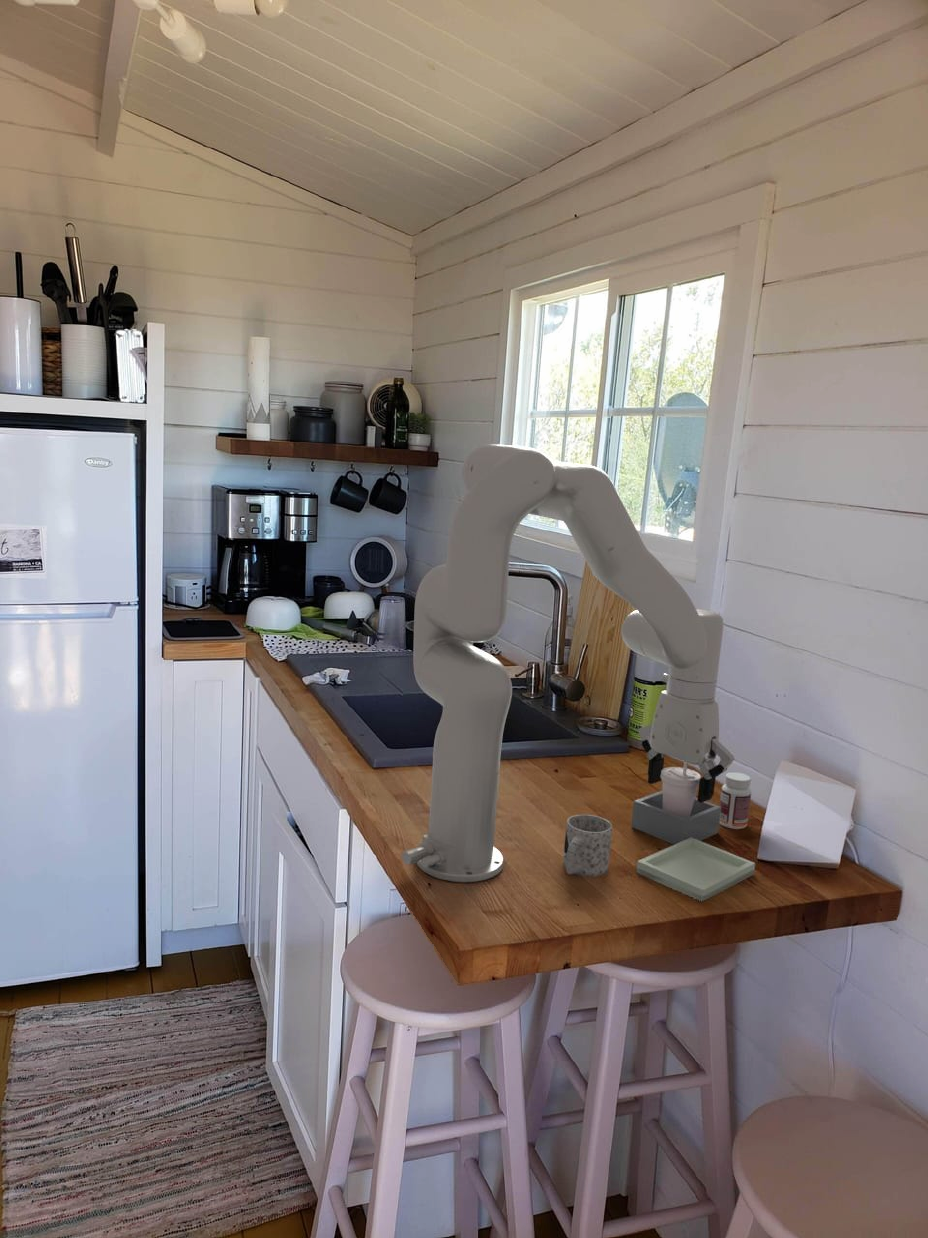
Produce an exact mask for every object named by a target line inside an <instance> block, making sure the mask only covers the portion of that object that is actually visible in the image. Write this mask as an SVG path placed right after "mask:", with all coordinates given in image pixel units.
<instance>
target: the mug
mask: <svg viewBox="0 0 928 1238" xmlns="http://www.w3.org/2000/svg"><path fill="white" fill-rule="evenodd" d="M565 825H566V826H565V836H564V837H565V838H564V846H563V857H562V859H563V860H562V867H563V868H564V869H565V873H567V874H568V875H573V874H575V875H576V876H577V875H579V876H583V877H599V876H603V875H605V874H606V873H607V872H608V871H609V864H610V856H611V855H610V854H611V846H612V833H613V824H612V823H611V822H610V821H609V820H608V819H606V818H604V817H602V816H598V815H593V814H575V815H571V816H570V817H568V818H567V820H566V824H565Z"/></svg>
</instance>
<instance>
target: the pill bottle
mask: <svg viewBox="0 0 928 1238" xmlns="http://www.w3.org/2000/svg"><path fill="white" fill-rule="evenodd" d="M751 780H752V778H751V777H750V776H749V775H748V774H744V773H743V772H727V773H726V774H725V779H724V784H723V785H722V786H721V790H720V791H721V792H720V793H721V794H720V803H719V806H720V807H721V813H720V821H719V825H721V826H722V827H725V828H728V829H731V830H732V829H734V830H741V829H745V828H746V827H747V826H748V822H749V813H750V806H751V796H752V790H751V788H750V786H751Z"/></svg>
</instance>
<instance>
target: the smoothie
mask: <svg viewBox="0 0 928 1238" xmlns="http://www.w3.org/2000/svg"><path fill="white" fill-rule="evenodd" d="M660 777H661V779H662V780H661V781H662V785H661V787H662V790H661V791H663V810H665V811H667V812H670V813H672V814H675V815H677V816H680V817H683V818H688V817H690V815H691V811H692V807H693V803H694V799H695V797H696V795H697V792H698V788H699V782H700V778H702V776H701V774H700V773H699V772H697V771H696V770H693V769H690V768H688V763H686V762H683V767H679V766H678V767H677V766H669V767H665V768H664V767H663V770H662V771H661V776H660Z"/></svg>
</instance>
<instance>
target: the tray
mask: <svg viewBox="0 0 928 1238" xmlns="http://www.w3.org/2000/svg"><path fill="white" fill-rule="evenodd" d="M636 865H637V866H636V873H637V874H639V875H641V876H642V877H645V878H647V879H650V880H651V881H655V882H656V883H659V884H660V885H663V886H665V887H667V888H669V889H671V888H672V889H671V890H674V891H676V890H677V892H678V891H679V892H678V893H680V892H681V893H680V894H682V895H685V894H686V895H685V896H687V895H689V896H690V897H689V896H688V897H689V898H691V897H693V898H692V899H693V900H696V899H697V900H696V901H698V900H699V901H698V902H700V901H701V902H700V903H703V902H705V901H706V899H707V900H708V898H709V899H711V898H712V897H714V896H716V895H718V894H720V893H723V892H724V891H725V890H727V889H729V888H731V887H733V886H736V884H737V885H738V883H741V882H742V881H744V880H746V879H748V878H750V877H751V876H754V875H755V869H756V868H755V867H756V863H755V862H754V861H751V860H748V859H746V858H744V857H740V856H738V855H737V854H736V855H735V854H734V853H731V852H729V851H726V850H723V849H721V848H719V847H716V846H714V845H711V844H709V843H706V842H704V841H702V840H701V841H699V840H697V839H694V838H692V837H691V838H689V839H686V840H684V841H682V842H680V843H677V844H675V845H674V844H672V845H670V846H669V847H666V848H664V849H661V850H659V851H657V852H655V853H653V854H650V855H648V856H645V857H644V858H641V859H639V860H637V864H636ZM710 897H711V898H710ZM704 900H705V901H704ZM702 901H703V902H702Z"/></svg>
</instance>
